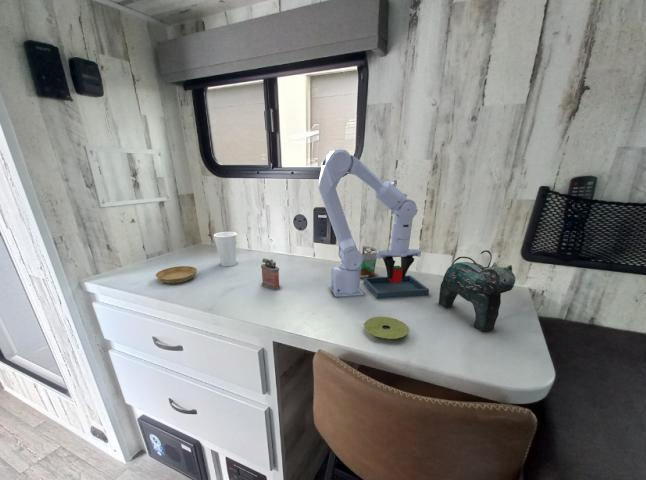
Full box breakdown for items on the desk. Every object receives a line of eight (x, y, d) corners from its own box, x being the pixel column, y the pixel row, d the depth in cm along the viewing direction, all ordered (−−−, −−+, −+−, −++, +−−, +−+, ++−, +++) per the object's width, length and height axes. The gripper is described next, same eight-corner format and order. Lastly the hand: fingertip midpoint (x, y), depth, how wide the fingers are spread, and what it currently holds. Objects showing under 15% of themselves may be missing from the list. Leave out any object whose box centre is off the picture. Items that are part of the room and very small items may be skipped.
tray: (376, 299, 99) (377, 293, 98) (363, 284, 111) (363, 278, 110) (428, 295, 101) (429, 289, 100) (409, 281, 113) (410, 275, 112)
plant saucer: (165, 289, 108) (163, 282, 107) (151, 278, 118) (150, 271, 117) (204, 278, 117) (203, 272, 116) (188, 269, 127) (187, 263, 126)
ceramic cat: (502, 333, 79) (524, 258, 71) (481, 337, 78) (502, 261, 69) (448, 301, 97) (461, 239, 88) (431, 304, 95) (442, 240, 86)
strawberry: (392, 283, 102) (393, 269, 100) (387, 279, 106) (389, 265, 104) (403, 282, 103) (405, 268, 101) (398, 278, 106) (400, 264, 104)
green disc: (380, 349, 73) (381, 342, 72) (355, 327, 82) (355, 321, 82) (417, 338, 77) (418, 332, 76) (389, 319, 86) (390, 313, 86)
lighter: (282, 288, 108) (280, 260, 104) (275, 290, 106) (273, 263, 102) (267, 282, 113) (265, 256, 109) (260, 285, 111) (258, 258, 107)
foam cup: (222, 260, 138) (219, 231, 133) (242, 261, 137) (239, 231, 132) (214, 267, 130) (210, 236, 124) (235, 267, 129) (231, 237, 123)
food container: (376, 281, 113) (379, 255, 109) (360, 280, 114) (361, 254, 110) (376, 270, 124) (378, 246, 119) (361, 269, 125) (362, 245, 121)
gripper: (383, 241, 94) (379, 283, 99) (428, 239, 95) (421, 280, 101) (375, 236, 100) (372, 275, 106) (417, 234, 102) (411, 273, 108)
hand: (395, 277), depth 104 cm, fingers closed on strawberry, 4 cm apart
